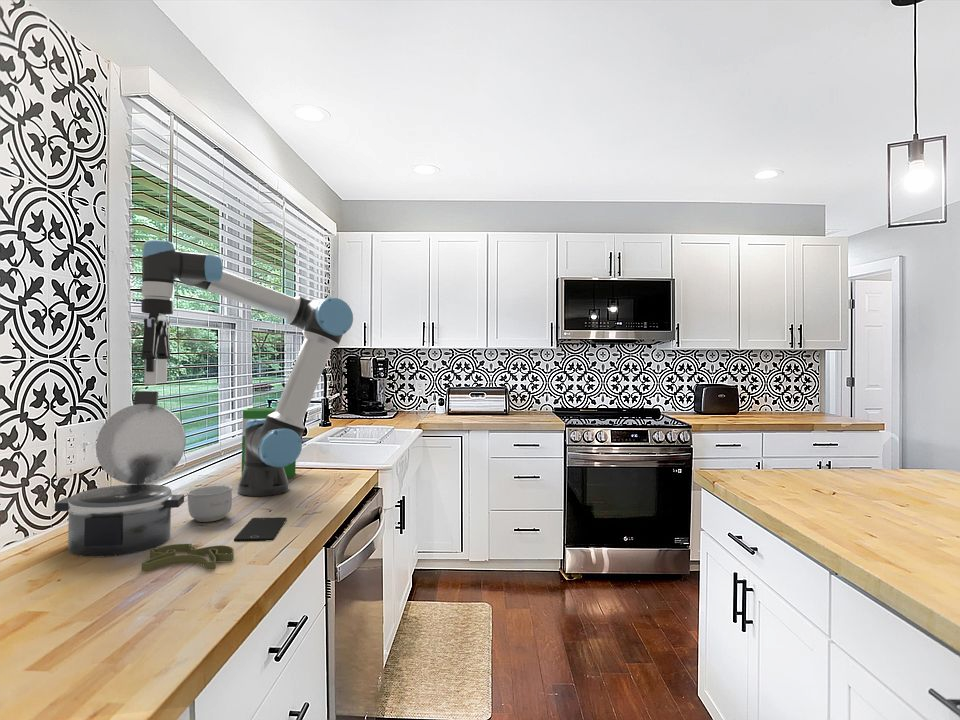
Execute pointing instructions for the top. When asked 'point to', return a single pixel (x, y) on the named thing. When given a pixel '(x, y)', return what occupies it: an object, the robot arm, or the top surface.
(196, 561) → the cookie cutter
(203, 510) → the teacup
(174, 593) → the top surface
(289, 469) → the hardback book
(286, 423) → the robot arm
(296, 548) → the top surface
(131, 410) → the lid
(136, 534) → the cooker
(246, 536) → the cell phone
